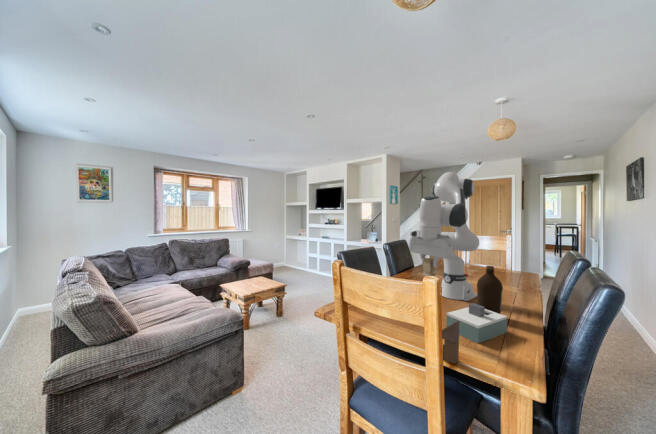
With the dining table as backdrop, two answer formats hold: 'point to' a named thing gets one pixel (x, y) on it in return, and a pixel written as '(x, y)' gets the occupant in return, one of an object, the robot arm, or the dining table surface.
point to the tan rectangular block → (428, 267)
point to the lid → (476, 316)
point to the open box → (479, 330)
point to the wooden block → (451, 343)
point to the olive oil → (490, 291)
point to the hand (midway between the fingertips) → (429, 265)
